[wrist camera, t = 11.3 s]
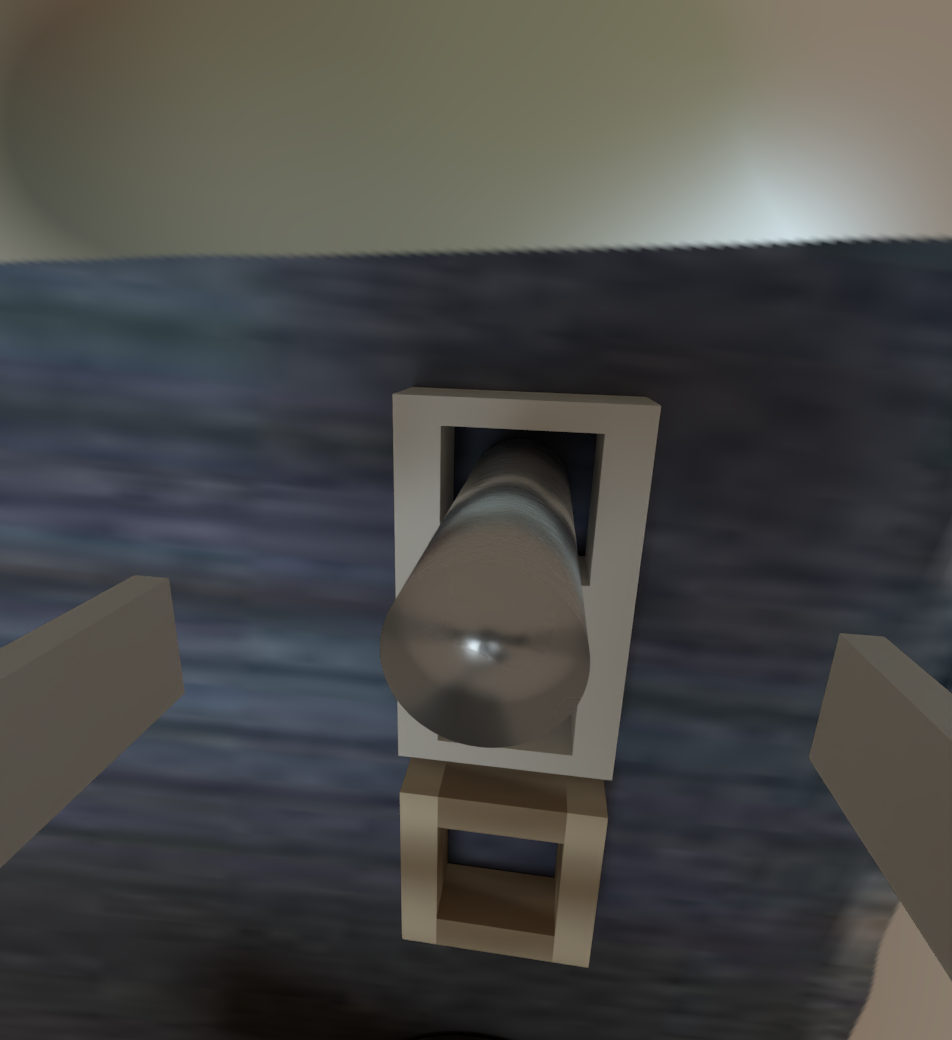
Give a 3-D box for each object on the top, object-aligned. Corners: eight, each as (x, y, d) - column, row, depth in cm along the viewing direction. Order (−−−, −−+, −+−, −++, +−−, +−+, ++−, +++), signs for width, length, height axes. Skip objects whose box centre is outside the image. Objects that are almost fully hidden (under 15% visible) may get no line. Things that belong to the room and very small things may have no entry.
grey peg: (585, 508, 23) (625, 708, 11) (499, 548, 24) (442, 772, 12) (542, 420, 22) (529, 525, 10) (453, 465, 23) (341, 613, 11)
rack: (605, 732, 26) (612, 780, 23) (414, 711, 27) (398, 755, 24) (646, 396, 21) (661, 406, 18) (412, 386, 22) (392, 394, 19)
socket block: (584, 906, 29) (588, 967, 26) (416, 882, 30) (402, 938, 27) (602, 767, 27) (608, 818, 24) (415, 745, 28) (399, 792, 25)
